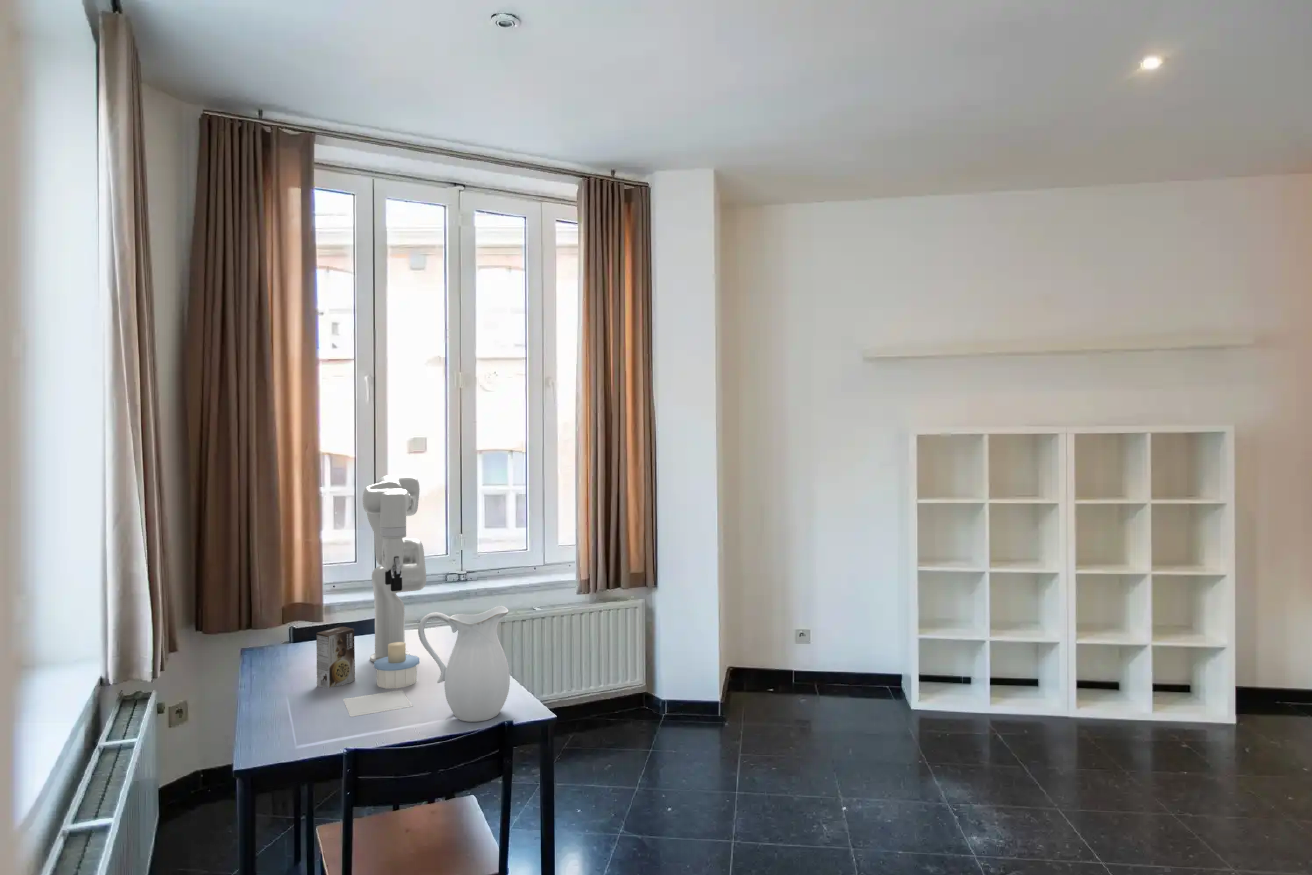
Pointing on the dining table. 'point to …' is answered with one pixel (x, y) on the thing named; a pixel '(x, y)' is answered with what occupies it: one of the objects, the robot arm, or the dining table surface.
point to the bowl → (396, 678)
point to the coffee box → (335, 657)
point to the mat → (376, 703)
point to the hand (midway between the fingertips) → (393, 587)
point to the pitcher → (473, 664)
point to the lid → (396, 658)
